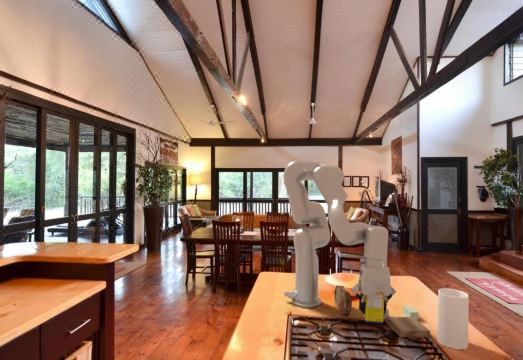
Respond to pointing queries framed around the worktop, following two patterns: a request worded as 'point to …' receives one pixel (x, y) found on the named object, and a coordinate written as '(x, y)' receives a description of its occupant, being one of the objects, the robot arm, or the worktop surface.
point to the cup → (453, 318)
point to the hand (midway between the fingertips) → (372, 311)
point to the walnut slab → (407, 327)
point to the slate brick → (386, 313)
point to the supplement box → (374, 308)
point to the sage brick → (410, 312)
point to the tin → (343, 299)
